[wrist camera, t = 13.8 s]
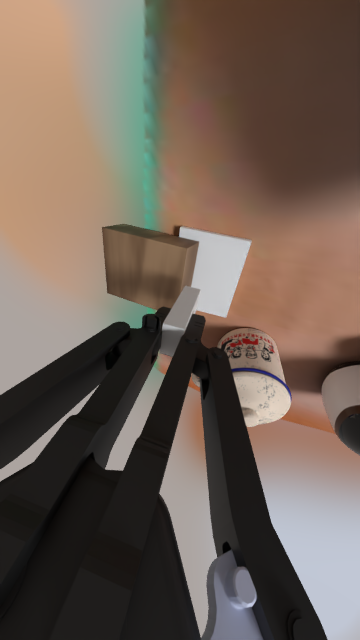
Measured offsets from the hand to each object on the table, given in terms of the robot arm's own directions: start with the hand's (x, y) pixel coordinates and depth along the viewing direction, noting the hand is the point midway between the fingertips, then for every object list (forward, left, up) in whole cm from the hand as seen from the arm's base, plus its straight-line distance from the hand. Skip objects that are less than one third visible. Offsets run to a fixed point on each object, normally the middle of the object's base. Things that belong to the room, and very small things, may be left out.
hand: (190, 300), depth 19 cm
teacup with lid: (+11, +8, -8) cm, 15 cm away
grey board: (0, +1, -8) cm, 8 cm away
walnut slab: (0, -1, -5) cm, 5 cm away
